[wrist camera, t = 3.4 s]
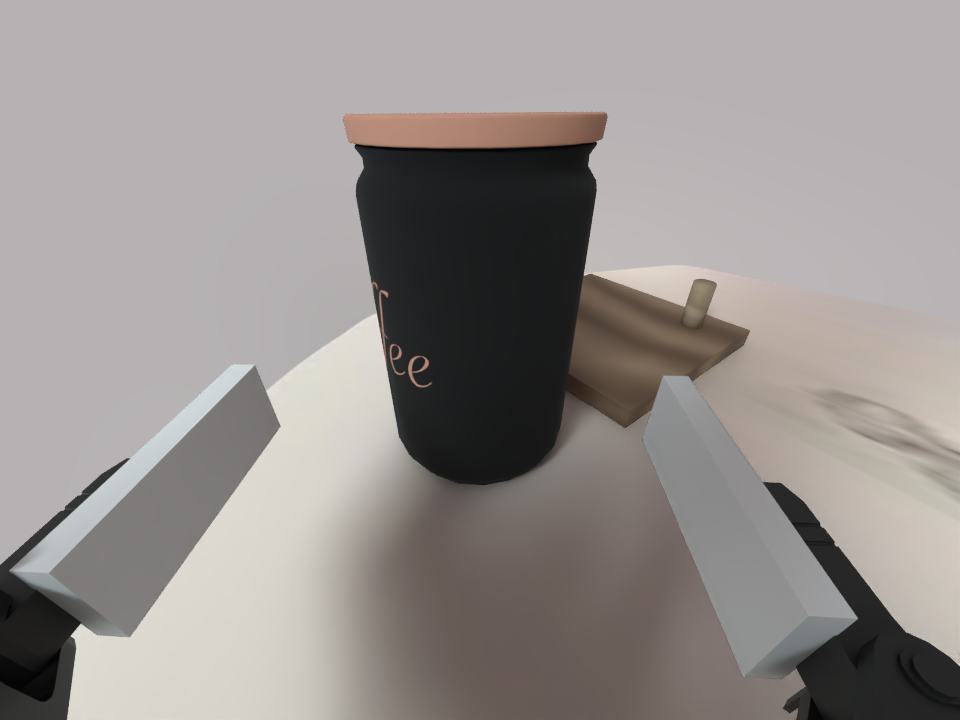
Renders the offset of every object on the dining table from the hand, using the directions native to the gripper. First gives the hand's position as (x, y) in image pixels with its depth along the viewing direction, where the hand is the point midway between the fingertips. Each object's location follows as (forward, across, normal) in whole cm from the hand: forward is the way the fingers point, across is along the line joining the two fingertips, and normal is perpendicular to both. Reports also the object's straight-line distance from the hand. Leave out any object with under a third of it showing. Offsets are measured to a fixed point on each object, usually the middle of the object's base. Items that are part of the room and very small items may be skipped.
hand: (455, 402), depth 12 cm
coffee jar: (+9, 0, -10) cm, 14 cm away
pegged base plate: (+22, +11, -10) cm, 27 cm away
